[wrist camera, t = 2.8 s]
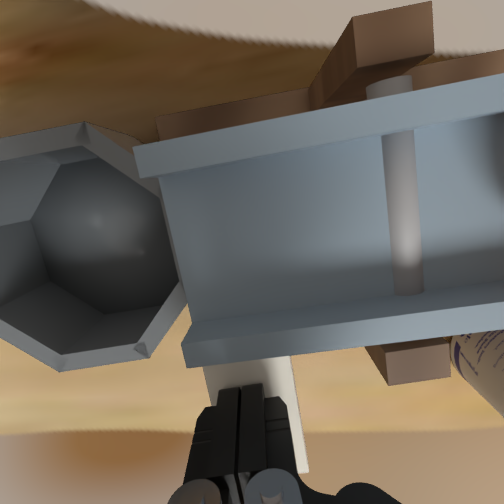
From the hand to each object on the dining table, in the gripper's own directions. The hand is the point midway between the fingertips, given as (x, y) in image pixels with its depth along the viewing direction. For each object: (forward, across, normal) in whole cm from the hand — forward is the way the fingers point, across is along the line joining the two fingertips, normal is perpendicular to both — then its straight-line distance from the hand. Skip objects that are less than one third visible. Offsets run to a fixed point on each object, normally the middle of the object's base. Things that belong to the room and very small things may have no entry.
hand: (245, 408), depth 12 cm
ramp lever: (+2, -6, -3) cm, 7 cm away
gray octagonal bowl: (+8, +6, -6) cm, 12 cm away
